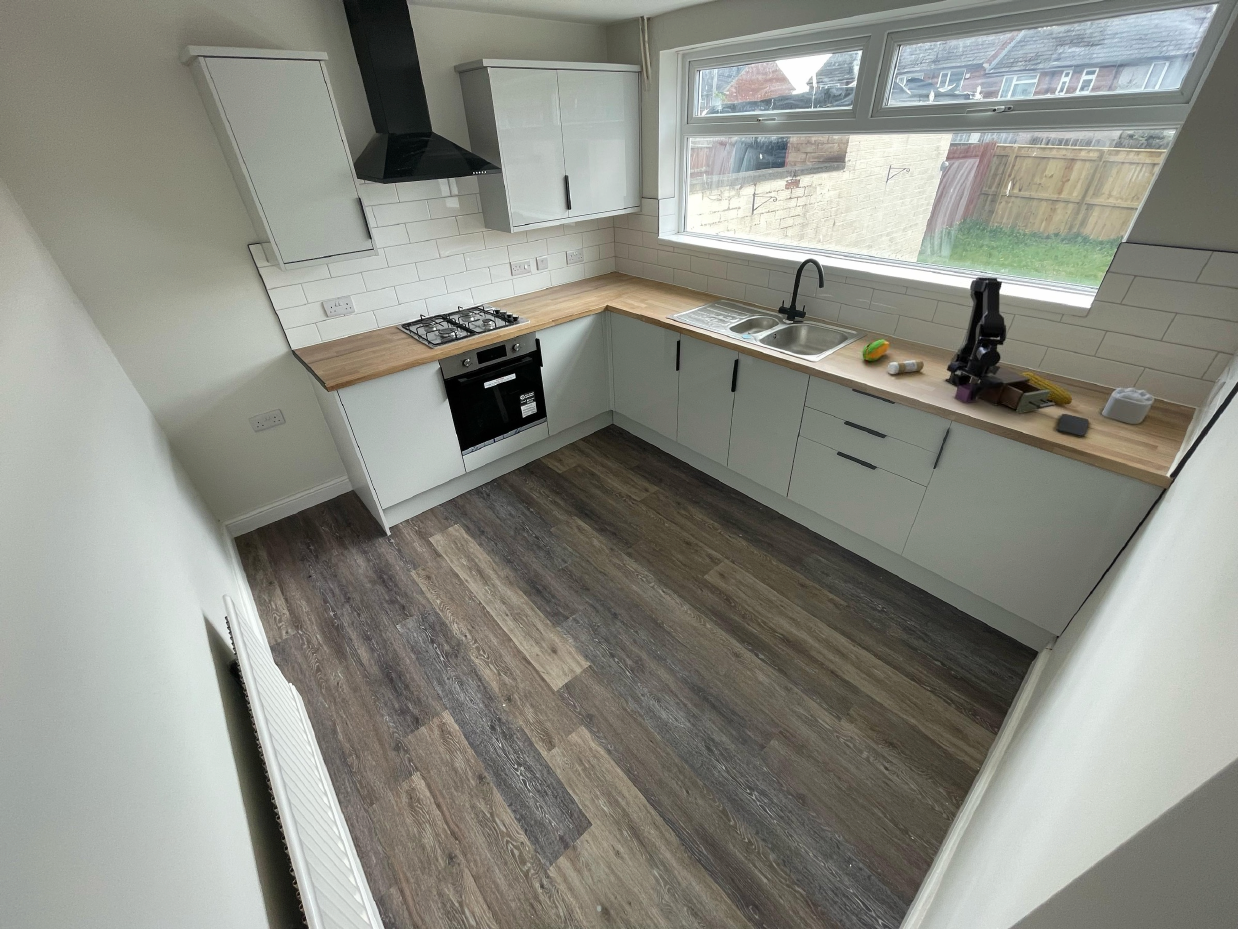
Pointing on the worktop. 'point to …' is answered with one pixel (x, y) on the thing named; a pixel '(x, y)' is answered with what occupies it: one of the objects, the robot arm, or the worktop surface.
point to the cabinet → (1007, 378)
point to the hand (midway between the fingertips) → (966, 396)
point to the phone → (1073, 425)
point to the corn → (875, 350)
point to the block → (965, 393)
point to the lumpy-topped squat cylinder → (1128, 405)
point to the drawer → (1025, 397)
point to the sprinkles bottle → (905, 366)
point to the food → (1055, 393)
